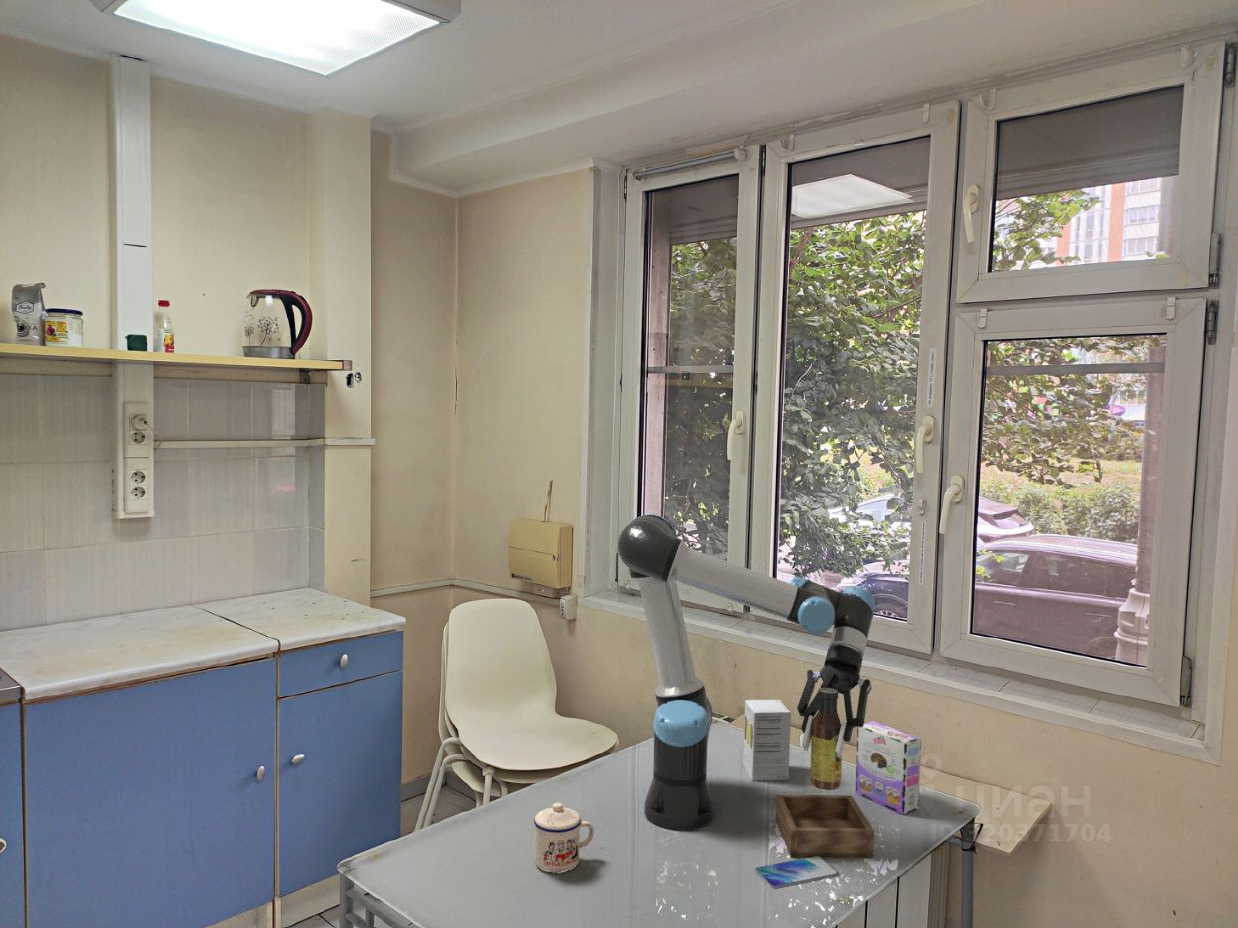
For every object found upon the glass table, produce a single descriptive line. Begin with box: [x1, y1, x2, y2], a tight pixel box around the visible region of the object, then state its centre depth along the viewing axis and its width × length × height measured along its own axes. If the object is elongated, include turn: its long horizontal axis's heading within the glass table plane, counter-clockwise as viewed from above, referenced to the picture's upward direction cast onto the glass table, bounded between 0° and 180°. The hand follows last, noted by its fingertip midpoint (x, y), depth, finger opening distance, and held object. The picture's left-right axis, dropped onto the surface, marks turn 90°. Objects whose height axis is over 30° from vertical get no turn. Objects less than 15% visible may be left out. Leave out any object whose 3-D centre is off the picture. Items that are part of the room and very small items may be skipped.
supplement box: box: [742, 699, 792, 782], centre depth 217 cm, size 10×9×17 cm
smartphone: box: [754, 856, 840, 890], centre depth 171 cm, size 7×1×15 cm
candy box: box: [854, 720, 922, 815], centre depth 202 cm, size 14×6×16 cm, turn 34°
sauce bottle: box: [809, 687, 843, 791], centre depth 183 cm, size 6×6×20 cm
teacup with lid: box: [533, 802, 595, 872], centre depth 173 cm, size 12×9×12 cm
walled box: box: [774, 794, 875, 859], centre depth 185 cm, size 16×16×6 cm
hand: (821, 750), depth 180 cm, fingers closed on sauce bottle, 6 cm apart
